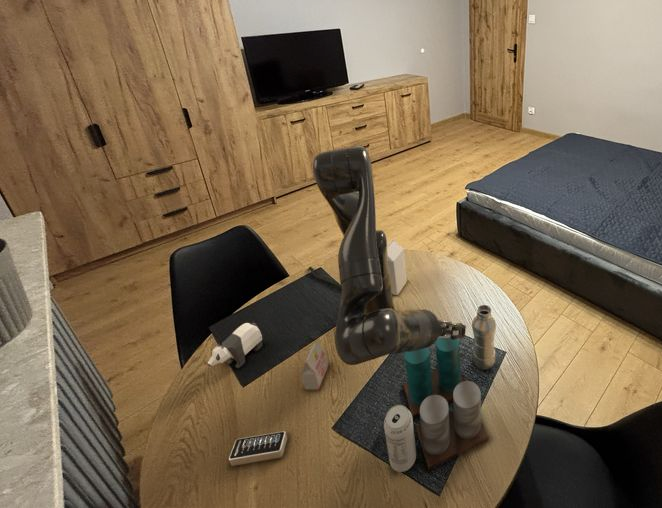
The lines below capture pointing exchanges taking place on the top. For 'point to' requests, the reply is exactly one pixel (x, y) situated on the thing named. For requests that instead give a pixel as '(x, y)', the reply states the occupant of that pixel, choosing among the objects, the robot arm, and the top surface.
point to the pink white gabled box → (314, 368)
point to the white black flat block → (258, 448)
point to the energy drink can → (400, 438)
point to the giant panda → (237, 345)
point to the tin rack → (451, 424)
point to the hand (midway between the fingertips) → (444, 325)
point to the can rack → (437, 381)
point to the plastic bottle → (484, 338)
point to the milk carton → (396, 266)
